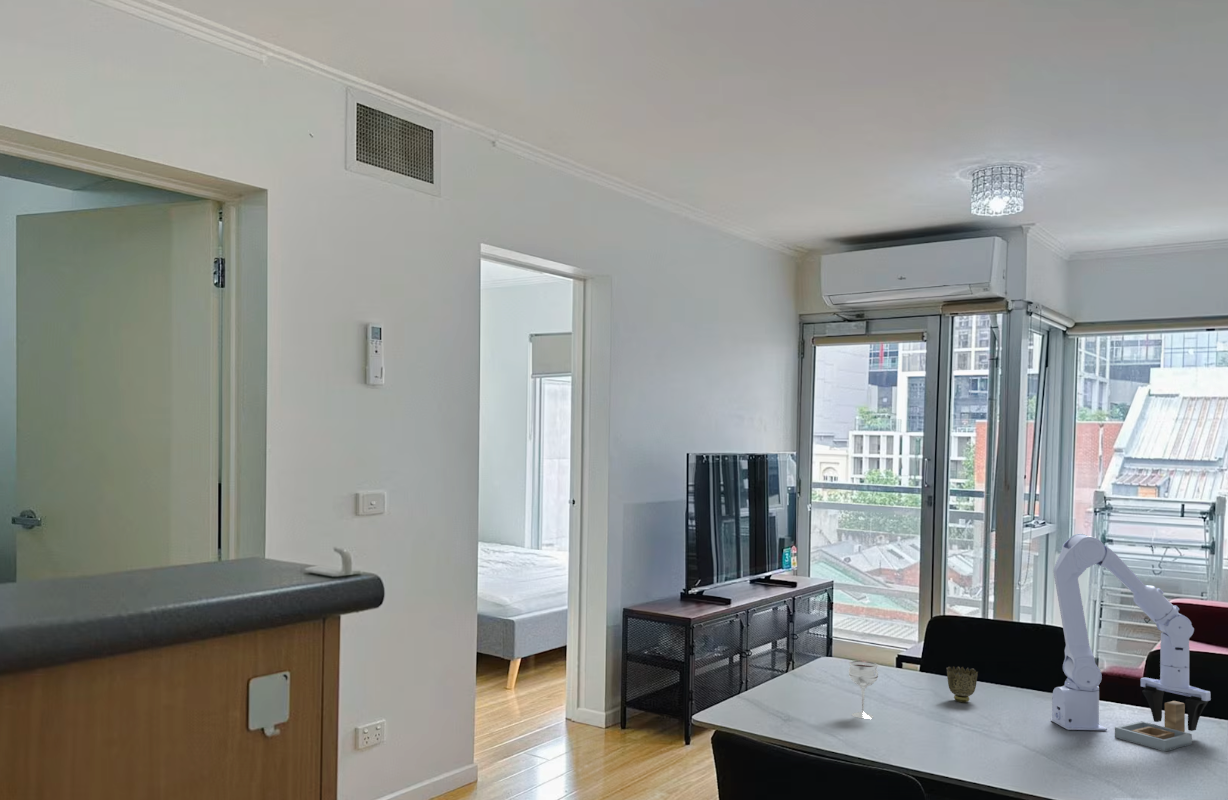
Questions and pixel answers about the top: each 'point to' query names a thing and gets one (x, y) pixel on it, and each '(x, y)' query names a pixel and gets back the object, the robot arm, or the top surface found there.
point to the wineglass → (863, 680)
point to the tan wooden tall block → (1175, 715)
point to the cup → (961, 682)
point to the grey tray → (1153, 736)
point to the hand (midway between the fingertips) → (1174, 725)
